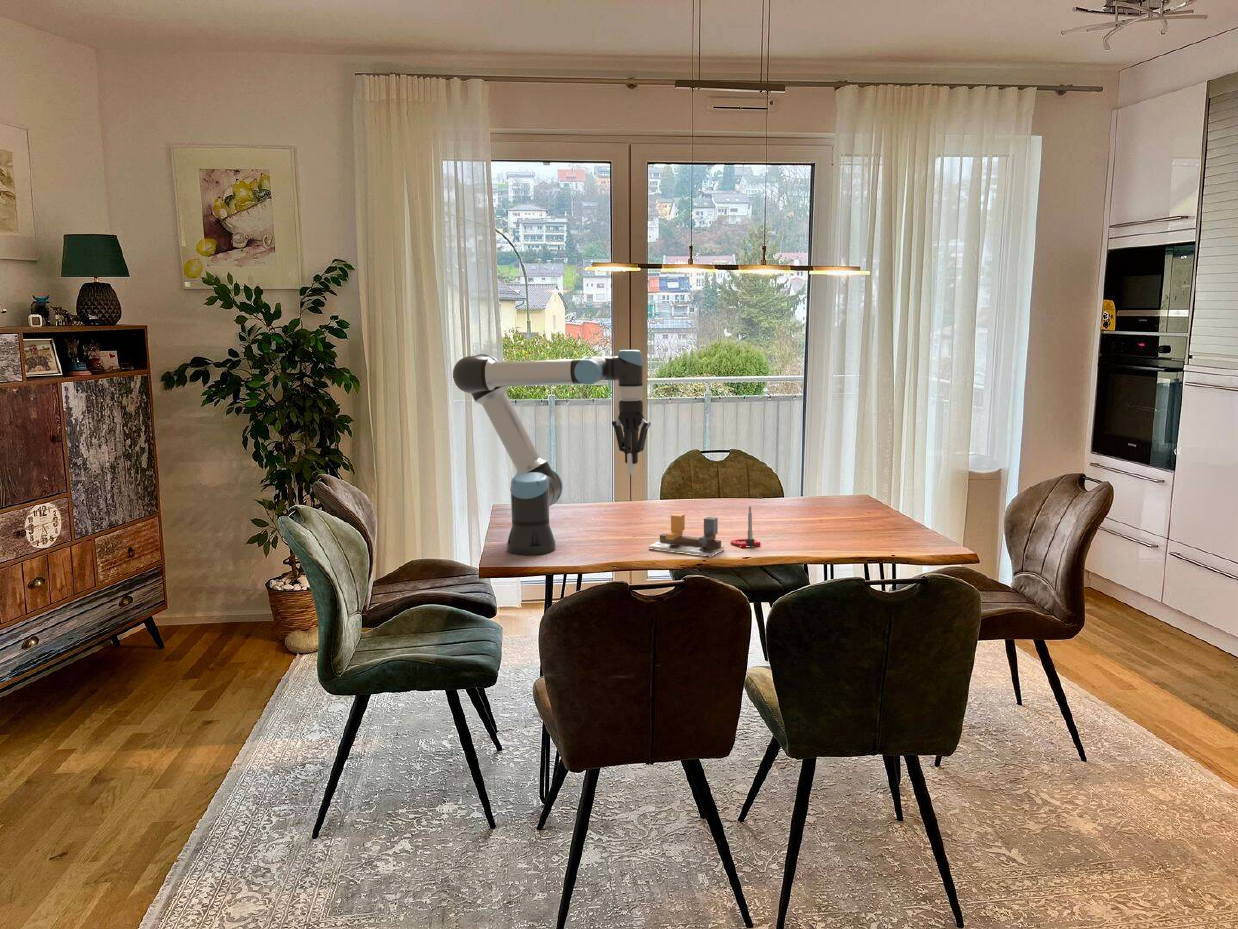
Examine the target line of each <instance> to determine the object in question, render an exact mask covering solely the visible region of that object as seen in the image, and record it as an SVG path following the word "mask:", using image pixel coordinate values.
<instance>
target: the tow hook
mask: <svg viewBox="0 0 1238 929" xmlns="http://www.w3.org/2000/svg"><path fill="white" fill-rule="evenodd" d="M747 521H748V522H747V524H748V525H747V538H736V539H731V541H730V544H731V545H732V544H733V546H736V547H737V546H738V547H740V546H741V547H745V548H747V547H746V546H755V547H761V542H760V541H758V540H756V539H755V538H754V537H753V513H752V506H748V514H747ZM737 541H746V542H737ZM741 547H740V548H741Z"/></svg>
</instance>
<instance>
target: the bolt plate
mask: <svg viewBox="0 0 1238 929" xmlns="http://www.w3.org/2000/svg"><path fill="white" fill-rule="evenodd" d="M666 534H667V533H662V534H659V540H658V541H656V542H654V543H652V544H650V545H648V548H653V549H660V550H666V551H674V552H684V553H691V554H699V555H706V556H712V555H713V554H715V553H716V552H719V551H721V550H722V549H724V548H725V546H723V545H722V539H714V540H713V541H711V542H709V543H707V544H706V548H705V549H703V548H702V543H699V538H700V537H695V536H694V537H693V536H689V535H688V536H686V535H682V536H680V537H678V538H676V539H674V540H673V544H672V545H670V544H669V539H666ZM648 548H647V549H648ZM721 552H722V551H721ZM719 553H720V552H719ZM712 557H713V556H712Z"/></svg>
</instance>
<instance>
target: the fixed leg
mask: <svg viewBox="0 0 1238 929" xmlns="http://www.w3.org/2000/svg"><path fill="white" fill-rule="evenodd" d="M718 519H719V518H718V517H715V516H713V517H712V516H707V517H705V518H703V535H702V536H700V537H698V538H699V543H702V548H703V549H705V548H706V544H707V543H709V542H711V541H713V540H717V539H716V535H717V534H718V533H719V532H718V527H719V526H718V524H719V522H718V521H719V520H718Z"/></svg>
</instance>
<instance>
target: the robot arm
mask: <svg viewBox="0 0 1238 929" xmlns="http://www.w3.org/2000/svg"><path fill="white" fill-rule="evenodd" d="M642 354H643V352H641V350H639V349H620V350H618V353H617V355H616V356H598V355H597V356H595V355H592V356H591V355H589V356H582V358H575V359H574V358H572V359H568V358H567V359H546V360H545V359H543V360H539V359H538V360H521V361H519V360H516V361H499V360H498V359H497V358H495V357H494V356H492V355H489V354H486V353H485V354H484V353H481V354H480V353H479V354H476V355H468V356H465V357H462V358H461V359H459V360H458V361H456V363H455V365H454V367H453V369H452V379H453V382H454V384H455V385H456V387H457V388H458V389H459V390H460V391H462V392H464V393H468V394H470V395H471V397H472V398H473V400H474V402H475V403H476V404H479V405H481V406H482V407H483V408H484V411H485V413H486V414H487V417H488V418H489V420H490V423H491V424H492V426H493V428H494V430H495V431H496V432H495V433H496V434H497V436H498V437H499V439H500V441H501V443H502V445H503V447H504V448H505V451H506V453H507V454H508V456H509V458H510V460H511V462H512V464H513V466H514V468H515V469H516V473H515V476H514V477H512V478H511V481H510V489H509V490H510V500H511V501H510V502H511V504H510V505H511V506H510V507H511V527H510V532H509V535H508V538H507V542H506V549H507V552H509V553H510V554H514V555H521V556H522V555H523V556H530V555H531V556H533V555H543V554H548V553H551V552H554V551H555V550H556V539H555V538H554V534H553V531H552V528H551V526H550V525H551V524H550V507H551V506H552V505H555V503H557V502H558V500H559V499H560V497H561V496H562V493H563V489H564V488H563V485H564V484H563V481H562V478H561V477H560V475H559V473H557V472H556V471H555V470H553V469H552V468H551V466H550V464H549V462H548V461H547V460H546V459H543V458H541V457H540V455H539V453H538V451H537V449H536V447H535V445H534V444H533V441H532V439H531V438H530V436H529V434H528V432H527V431H526V430H527V429H526V428H525V427H524V424H523V422H522V421H521V419H520V417H519V415H518V413H517V411H516V409H515V407H514V406H513V403H512V402H511V399H510V398H509V396H508V393H507V390H508V387H525V386H526V387H527V386H528V387H529V386H554V385H582V384H583V385H586V386H588V385H594V384H596V383H597V382H601V381H603V382H604V381H618V399H620V400H619V401H618V413H619V414H618V417H617V419H615V420H613V421H612V422H611V425H612V427H613V428H614V432H615V436H616V441H617V446H618V450H619V451H620V452H623V454H624V462H625V464H626V468H627V470H626V472H627V475H631V476H632V475H634V474H637V473H636V472H637V471H636V464H638V462H639V461H638V458H639V453H641V452H643V451H644V449H645V444H646V439H647V434H648V430H649V428H650V426H651V425H652V424H651V421H647V420H645V418H644V415H643V414H644V413H643V411H644V404H643V403H644V401H643V400H642V399H643V398H644V396H643V394H644V392H643V390H644V387H643V377H644V376H643V367H644V364H643V355H642ZM640 427H641V428H640ZM639 431H640V432H639Z"/></svg>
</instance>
